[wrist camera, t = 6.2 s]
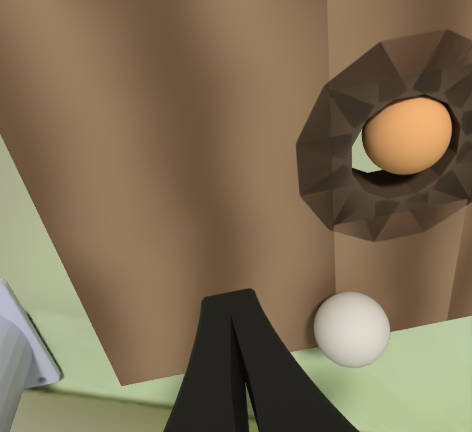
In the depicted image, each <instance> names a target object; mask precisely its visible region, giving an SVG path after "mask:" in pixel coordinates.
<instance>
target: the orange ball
mask: <svg viewBox="0 0 472 432" xmlns="http://www.w3.org/2000/svg"><path fill="white" fill-rule="evenodd" d="M451 134H452V124H451V119H450V116H449V113H448V111H447V109H446V108H445V106H444V105H443V104H442V103H441V102H440V101H439V100H438V99H436V98H433V97H431V96H429V95H426V94H422V95H416V96H411V97H406V98H401V99H395V100H393V101H392V102H390V103H389V104H387V105H386V106H385V107H383V108H382V109H381V110H379V111H378V112H377V113H375V114H374V115H373V116H371V117H370V118H369V119H367V120H366V122H365V124H364V126H363V127H362V142H363V146H364V149H365V151H366V153H367V155H368V157H369V158H370V159H371V160H372V162H373V163H374V164H376V165H377V166H378V167H380V168H381V169H383V170H385V171H387V172H390V173H393V174H402V175H406V174H414V173H418V172H421V171H423V170H425V169H427V168H429V167H431V166H432V165H434V164H435V163H436V162H437V161H438V160H439V159H440V158H441V157H442V156H443V154H444V153H445V151H446V149H447V147H448V145H449V143H450V139H451Z"/></svg>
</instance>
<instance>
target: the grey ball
mask: <svg viewBox="0 0 472 432" xmlns="http://www.w3.org/2000/svg"><path fill="white" fill-rule="evenodd" d="M314 334H315V339H316V341H317V344H318V346H319V348H320V349H321V351H322V352H323V353H324V354H325V355H326V356H327V357H328V358H329V359H330V360H332V361H333V362H335V363H337V364H339V365H341V366H344V367H349V368H360V367H364V366H367V365H370V364H372V363H373V362H375V361H376V360H378V359H379V358H380V357H381V356H382V355H383V353H384V352H385V350H386V348H387V346H388V343H389V339H390V325H389V321H388V318H387V316H386V314H385V312H384V310H383V309H382V308H381V306H380V305H379V304H378V303H377V302H376V301H375V300H373V299H372V298H370V297H369V296H367V295H364V294H362V293H358V292H341V293H338V294H335V295H333V296H331V297H330V298H328V299H327V300H326V301H325V302H324V303H323V304H322V305H321V306H320V308H319V309H318V311H317V314H316V316H315V320H314Z"/></svg>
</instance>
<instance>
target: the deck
mask: <svg viewBox="0 0 472 432" xmlns="http://www.w3.org/2000/svg"><path fill="white" fill-rule="evenodd" d="M422 94H426V95H429V96H431V97H433V98H436V99H438V100H439V101H440V102H441V103H442V104H443V105H444V106H445V108H446V109H447V111H448V113H449V116H450V119H451V124H452V134H451V139H450V143H449V145H448V147H447V149H446V151H445V153H444V154H443V156H442V157H441V158H440V159H439V160H438V161H437V162H436V163H435V164H434V165H432V166H431V167H429V168H427V169H425V170H423V171H421V172H418V173H414V174H406V175H402V174H393V173H390V172H387V171H385V170H380V171H375V172H369V173H366V172H363V171H360V170H357V169H354V168H352V146H353V144H354V142H355V140H356V138H357V137H358V135H359V133H360V131H361V129H362V127H363V126H364V124H365V122H366V120H367V119H369V118H370V117H371V116H373V115H374V114H375V113H377V112H378V111H379V110H381V109H382V108H383V107H385V106H386V105H387V104H389V103H390V102H392V101H393V100H395V99H401V98H406V97H411V96H416V95H422ZM0 134H1V136H2V138H3V140H4V143H5V144H6V147H7V149H8V151H9V153H10V155H11V157H12V159H13V161H14V163H15V165H16V167H17V170H18V172H19V174H20V176H21V178H22V180H23V182H24V184H25V186H26V188H27V190H28V193H29V195H30V197H31V199H32V201H33V203H34V205H35V207H36V209H37V211H38V213H39V215H40V218H41V219H42V222H43V224H44V226H45V228H46V230H47V232H48V234H49V236H50V238H51V240H52V242H53V244H54V247H55V248H56V251H57V253H58V255H59V257H60V259H61V261H62V263H63V265H64V267H65V269H66V271H67V274H68V276H69V278H70V280H71V282H72V284H73V286H74V288H75V290H76V292H77V295H78V297H79V299H80V301H81V303H82V305H83V307H84V309H85V311H86V313H87V315H88V317H89V320H90V322H91V324H92V326H93V328H94V330H95V332H96V334H97V336H98V338H99V340H100V342H101V344H102V347H103V349H104V351H105V353H106V355H107V357H108V359H109V361H110V363H111V365H112V367H113V369H114V372H115V374H116V376H117V378H118V380H119V382H120V384H121V386H124V385H129V384H134V383H139V382H144V381H149V380H154V379H159V378H164V377H169V376H174V375H179V374H184V373H186V370H187V367H188V363H189V360H190V356H191V352H192V349H193V345H194V341H195V337H196V333H197V328H198V323H199V318H200V311H201V301H202V300H203V298H204V297H207V296H212V295H217V294H222V293H227V292H232V291H237V290H242V289H247V288H251V289H253V290H255V293H256V296H257V298H258V300H259V303H260V305H261V307H262V309H263V311H264V313H265V314H266V316H267V318H268V320H269V321H270V323H271V325H272V326H273V328H274V330H275V331H276V333H277V334H278V336H279V337H280V339H281V340H282V342H283V343H284V345H285V346H286V347H287V349H288V350H289V352H293V351H298V350H303V349H308V348H313V347H318V344H317V341H316V339H315V334H314V320H315V316H316V314H317V311H318V309H319V308H320V306H321V305H322V304H323V303H324V302H325V301H326V300H327V299H328V298H330V297H331V296H333V295H335V294H338V293H341V292H358V293H362V294H364V295H367V296H369V297H370V298H372V299H373V300H375V301H376V302H377V303H378V304H379V305H380V306H381V308H382V309H383V310H384V312H385V314H386V316H387V318H388V321H389V325H390V332H393V331H398V330H403V329H408V328H413V327H418V326H423V325H427V324H432V323H437V322H442V321H447V320H452V319H457V318H462V317H467V316H472V0H0Z"/></svg>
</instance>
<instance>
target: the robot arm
mask: <svg viewBox="0 0 472 432" xmlns="http://www.w3.org/2000/svg"><path fill="white" fill-rule="evenodd" d="M60 375H61V373H60V371H59V369H58V367H57V365H56V364H55V362H54V360H53V359H52V357H51V355H50V354H49V352H48V350H47V348H46V347H45V345H44V343H43V342H42V340H41V338H40V337H39V335H38V333H37V332H36V330H35V328H34V326H33V325H32V323H31V321H30V320H29V318H28V316H27V315H26V313H25V311H24V309H23V308H22V306H21V304H20V303H19V301H18V299H17V298H16V296H15V295H14V293H13V291H12V289H11V288H10V286H9V284H8V283H7V282H6V281H4V280H2V279H0V432H9V431H10V429H11V425H12V422H13V419H14V416H15V413H16V410H17V407H18V403H19V400H20V397H21V394H22V391H23V389H27V388H32V387H37V386H42V385H47V384H52V383H55V382H57V381H59V379H60ZM245 382H246V386H247V389H248V393H249V397H250V400H251V404H252V408H253V411H254V415H255V419H256V423H257V426H258V430H259V432H359V431H358V430H357V429H356V428H355V427H354V426H353V425H352V424H351V423H350V422H349V421H348V420H347V419H346V418H345V417H344V416H343V415H342V414H341V413H340V412H339V411H338V410H337V409H336V408H335V406H334V405H333V404H332V403H331V402H330V401H329V400H328V399H327V398H326V397H325V395H324V394H323V393H322V392H321V391H320V390H319V389H318V387H317V386H316V385H315V384H314V383H313V381H312V380H311V379H310V378H309V377H308V375H307V374H306V373H305V372H304V370H303V369H302V368H301V366H300V365H299V364H298V363H297V361H296V360H295V359H294V357H293V356H292V355H291V353H290V352H289V350H288V349H287V347H286V346H285V345H284V343H283V342H282V340H281V339H280V337H279V336H278V334H277V333H276V331H275V330H274V328H273V326H272V325H271V323H270V321H269V320H268V318H267V316H266V314H265V313H264V311H263V309H262V307H261V305H260V303H259V300H258V298H257V296H256V293H255V290H253V289H251V288H247V289H242V290H237V291H232V292H227V293H222V294H217V295H212V296H207V297H204V298H203V300H202V301H201V311H200V318H199V323H198V328H197V333H196V337H195V341H194V345H193V349H192V352H191V356H190V360H189V363H188V367H187V370H186V373H185V376H184V379H183V382H182V385H181V387H180V390H179V393H178V396H177V399H176V402H175V404H174V407H173V409H172V412H171V414H170V417H169V419H168V422H167V424H166V427H165V429H164V431H163V432H249V424H248V411H247V398H246V386H245Z"/></svg>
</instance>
